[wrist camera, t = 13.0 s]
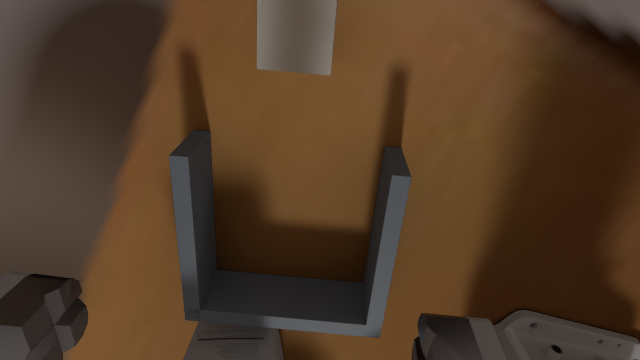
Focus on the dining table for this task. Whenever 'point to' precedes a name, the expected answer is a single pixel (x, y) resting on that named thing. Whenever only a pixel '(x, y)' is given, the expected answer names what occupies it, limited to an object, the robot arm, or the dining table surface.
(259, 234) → the dining table surface
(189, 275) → the open u-shaped frame
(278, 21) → the cream block
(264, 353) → the supplement box
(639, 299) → the dining table surface
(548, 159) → the dining table surface
